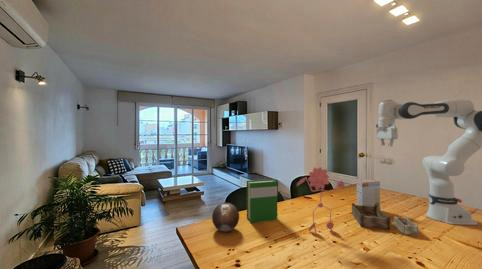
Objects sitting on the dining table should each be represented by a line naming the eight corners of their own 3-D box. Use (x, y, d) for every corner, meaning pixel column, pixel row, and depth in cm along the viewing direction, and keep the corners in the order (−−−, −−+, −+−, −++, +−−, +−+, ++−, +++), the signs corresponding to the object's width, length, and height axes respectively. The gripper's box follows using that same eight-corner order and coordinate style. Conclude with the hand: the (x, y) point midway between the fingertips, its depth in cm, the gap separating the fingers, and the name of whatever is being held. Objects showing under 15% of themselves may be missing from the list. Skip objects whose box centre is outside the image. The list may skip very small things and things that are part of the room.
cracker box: (373, 208, 149) (373, 179, 149) (380, 211, 143) (380, 181, 143) (356, 209, 146) (356, 180, 146) (362, 213, 140) (362, 182, 140)
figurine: (349, 234, 110) (347, 168, 111) (302, 237, 107) (301, 169, 108) (333, 223, 125) (332, 164, 126) (291, 225, 123) (290, 165, 123)
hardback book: (250, 223, 125) (250, 183, 125) (246, 218, 132) (246, 180, 132) (277, 219, 130) (277, 181, 130) (272, 215, 137) (272, 178, 137)
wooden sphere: (214, 238, 107) (214, 209, 107) (210, 226, 121) (210, 200, 121) (242, 234, 111) (242, 206, 111) (235, 223, 125) (235, 198, 125)
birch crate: (406, 226, 120) (406, 217, 120) (418, 236, 108) (418, 226, 108) (393, 225, 122) (393, 216, 121) (403, 234, 110) (403, 225, 110)
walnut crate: (376, 215, 136) (376, 205, 135) (390, 229, 116) (390, 217, 116) (351, 213, 139) (351, 203, 139) (360, 226, 120) (360, 214, 119)
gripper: (401, 124, 126) (401, 146, 126) (384, 125, 146) (384, 145, 147) (389, 124, 127) (389, 146, 127) (374, 125, 148) (374, 144, 148)
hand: (386, 145), depth 137 cm, fingers open, 8 cm apart
